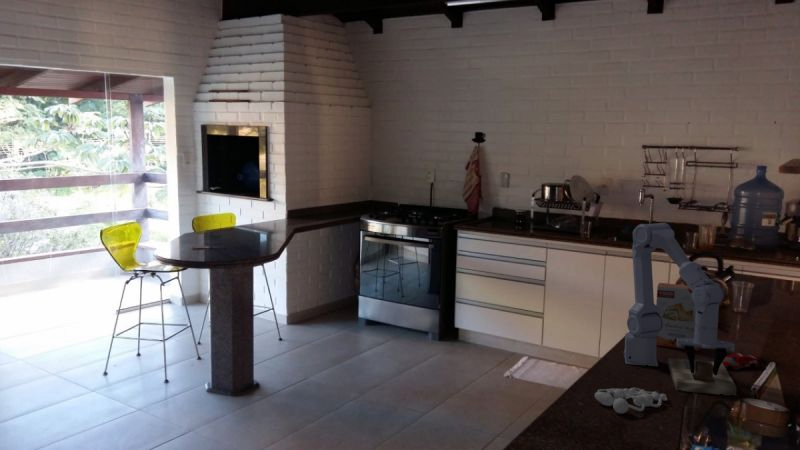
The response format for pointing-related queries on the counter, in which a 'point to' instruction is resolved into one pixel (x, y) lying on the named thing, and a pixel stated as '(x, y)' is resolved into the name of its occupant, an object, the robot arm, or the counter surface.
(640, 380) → the counter surface
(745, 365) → the race car
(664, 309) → the cracker box
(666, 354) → the counter surface
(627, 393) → the tangled rod sculpture
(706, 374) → the walnut peg
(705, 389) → the birch board
